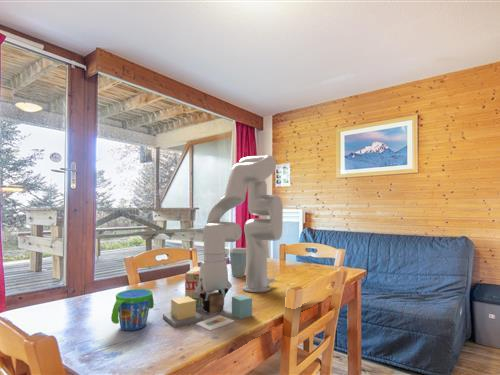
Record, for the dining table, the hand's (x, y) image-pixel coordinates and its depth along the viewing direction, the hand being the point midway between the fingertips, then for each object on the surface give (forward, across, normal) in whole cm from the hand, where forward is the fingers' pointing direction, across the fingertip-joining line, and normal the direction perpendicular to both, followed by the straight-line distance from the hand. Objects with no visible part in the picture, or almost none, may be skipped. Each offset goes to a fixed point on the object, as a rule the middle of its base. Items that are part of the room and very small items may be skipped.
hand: (213, 309), depth 108 cm
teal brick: (+1, -6, +9) cm, 11 cm away
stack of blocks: (+1, -4, -17) cm, 18 cm away
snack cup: (+1, +27, -2) cm, 27 cm away
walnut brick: (+1, 0, 0) cm, 1 cm away
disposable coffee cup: (+1, -38, -40) cm, 55 cm away
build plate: (+1, +12, +1) cm, 12 cm away
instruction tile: (+1, +5, +10) cm, 11 cm away
